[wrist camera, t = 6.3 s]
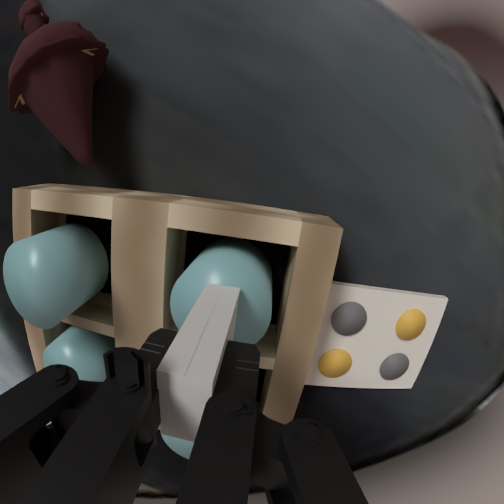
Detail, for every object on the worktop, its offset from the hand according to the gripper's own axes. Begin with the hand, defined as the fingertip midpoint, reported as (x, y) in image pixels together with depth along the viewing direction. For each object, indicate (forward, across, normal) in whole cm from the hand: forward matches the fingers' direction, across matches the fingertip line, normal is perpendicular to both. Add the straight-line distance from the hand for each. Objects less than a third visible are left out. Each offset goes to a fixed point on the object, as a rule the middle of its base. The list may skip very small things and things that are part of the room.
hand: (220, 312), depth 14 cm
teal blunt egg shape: (+3, -10, 0) cm, 10 cm away
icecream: (+6, -13, +12) cm, 19 cm away
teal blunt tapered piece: (+5, 0, 0) cm, 5 cm away
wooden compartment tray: (+6, -5, -4) cm, 8 cm away
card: (+6, +10, -4) cm, 12 cm away
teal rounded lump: (+5, -10, -7) cm, 13 cm away
